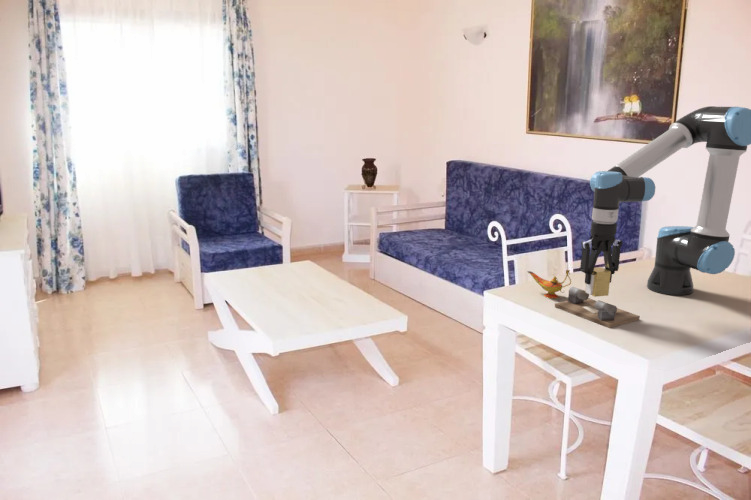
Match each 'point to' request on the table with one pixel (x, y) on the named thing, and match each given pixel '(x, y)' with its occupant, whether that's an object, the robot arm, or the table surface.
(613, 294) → the table surface
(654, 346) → the table surface
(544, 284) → the magic lamp
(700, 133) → the robot arm
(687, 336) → the table surface
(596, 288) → the block
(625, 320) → the shaft bench
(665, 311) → the table surface
